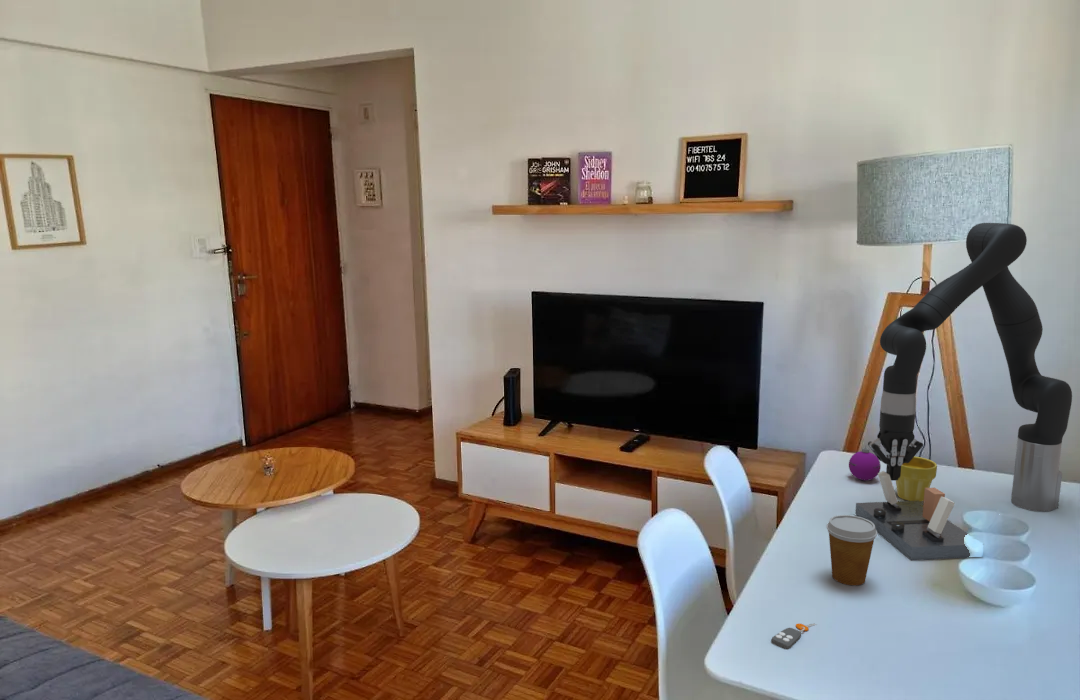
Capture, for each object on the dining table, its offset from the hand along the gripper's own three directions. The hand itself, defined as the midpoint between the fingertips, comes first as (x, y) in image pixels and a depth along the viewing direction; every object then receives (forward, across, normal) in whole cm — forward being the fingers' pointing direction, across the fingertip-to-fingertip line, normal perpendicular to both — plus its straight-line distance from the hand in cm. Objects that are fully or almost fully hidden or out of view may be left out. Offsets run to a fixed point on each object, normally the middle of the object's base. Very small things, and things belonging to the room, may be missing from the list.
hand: (892, 479), depth 178 cm
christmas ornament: (+11, -7, -28) cm, 30 cm away
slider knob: (+7, -5, +8) cm, 12 cm away
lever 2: (+6, 0, +17) cm, 18 cm away
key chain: (+11, +42, +46) cm, 63 cm away
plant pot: (+11, -13, -14) cm, 22 cm away
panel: (+10, -1, +8) cm, 13 cm away
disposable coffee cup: (+11, +24, +27) cm, 38 cm away
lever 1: (+6, 0, 0) cm, 6 cm away
